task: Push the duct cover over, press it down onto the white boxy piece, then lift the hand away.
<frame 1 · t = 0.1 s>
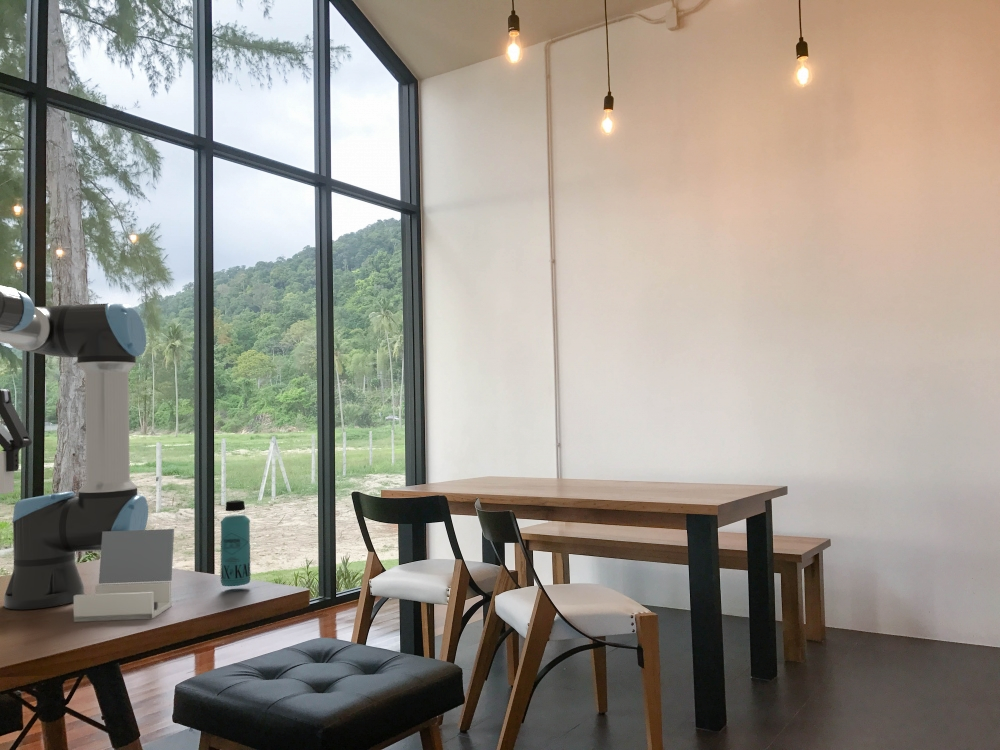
duct cover: (136, 556, 166), point 10 cm above the table, hinge at 100.0°
beverage bottle: (236, 590, 178), on the table
white boxy piece: (124, 613, 160), on the table
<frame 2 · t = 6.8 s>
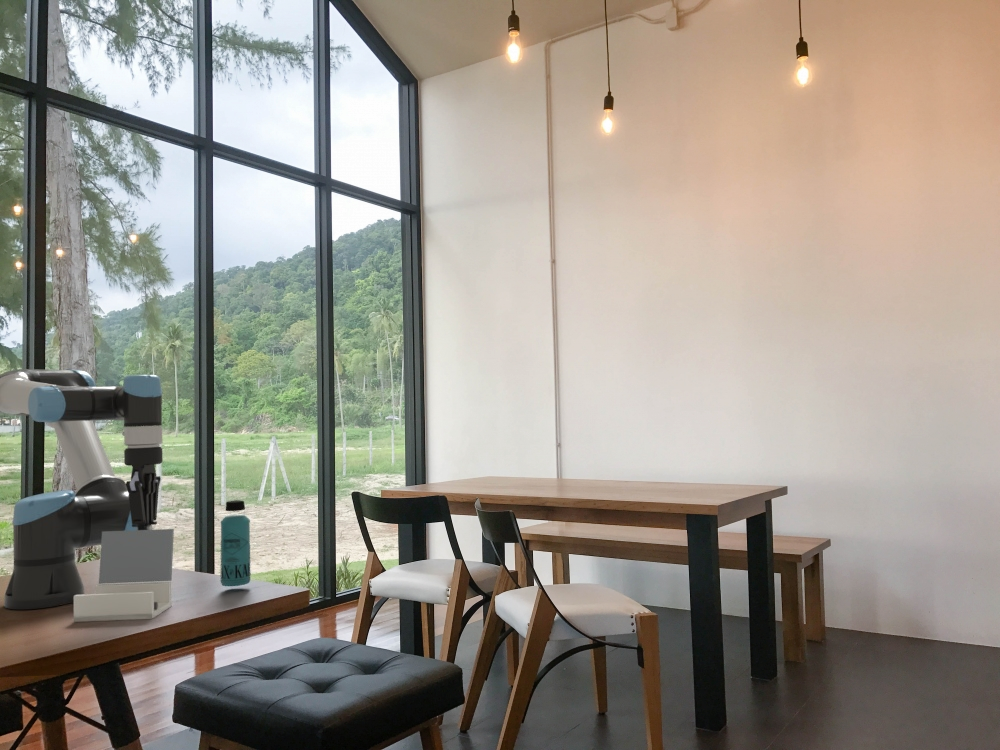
hand: (145, 556, 170), 10 cm above the table, fingers closed
duct cover: (136, 556, 166), point 10 cm above the table, hinge at 99.1°, touching gripper
everything else where it was.
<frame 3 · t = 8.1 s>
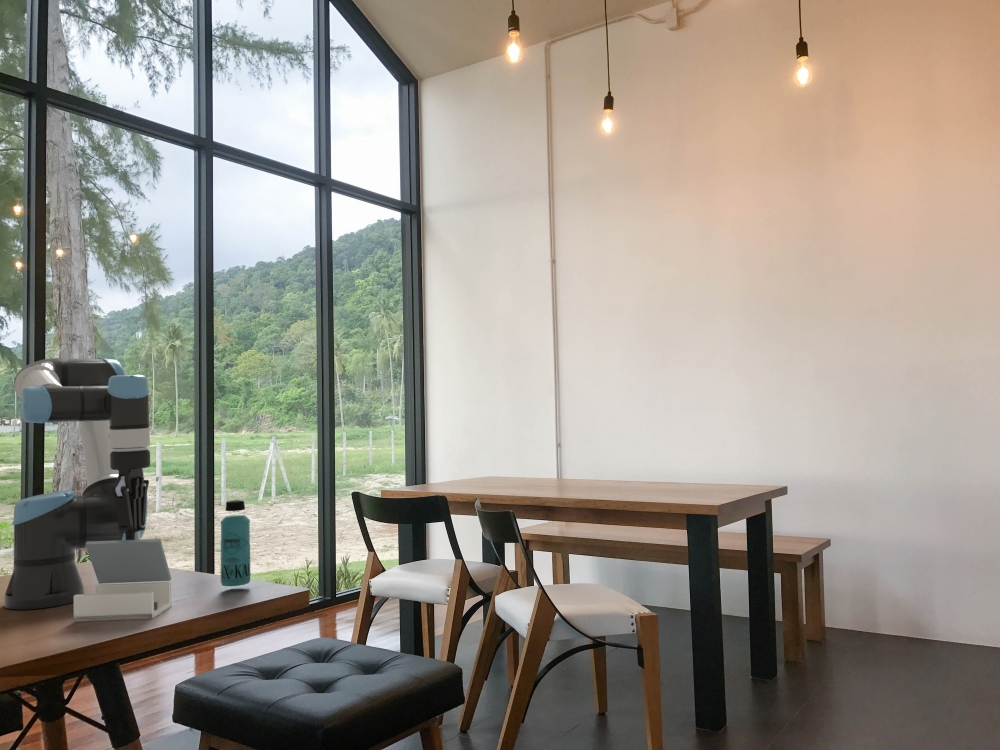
hand: (133, 563, 164), 9 cm above the table, fingers closed
duct cover: (129, 561, 162), point 10 cm above the table, hinge at 58.5°, touching gripper
everything else where it was.
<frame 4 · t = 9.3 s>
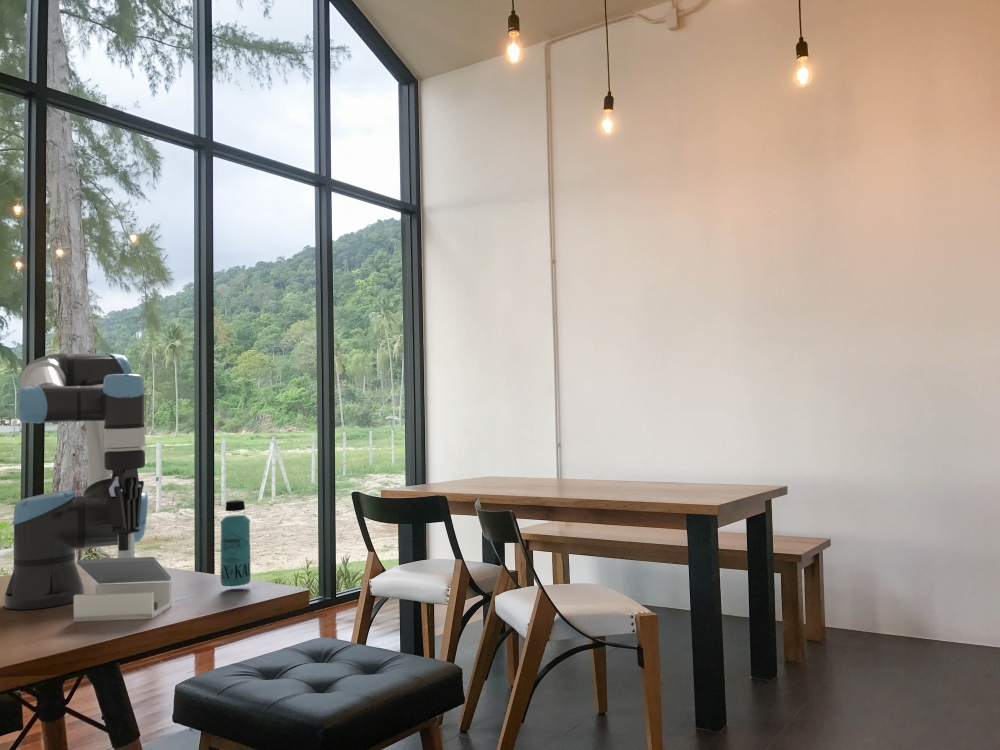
hand: (126, 565, 161), 9 cm above the table, fingers closed
duct cover: (125, 570, 161), point 8 cm above the table, hinge at 33.5°, touching gripper
everything else where it was.
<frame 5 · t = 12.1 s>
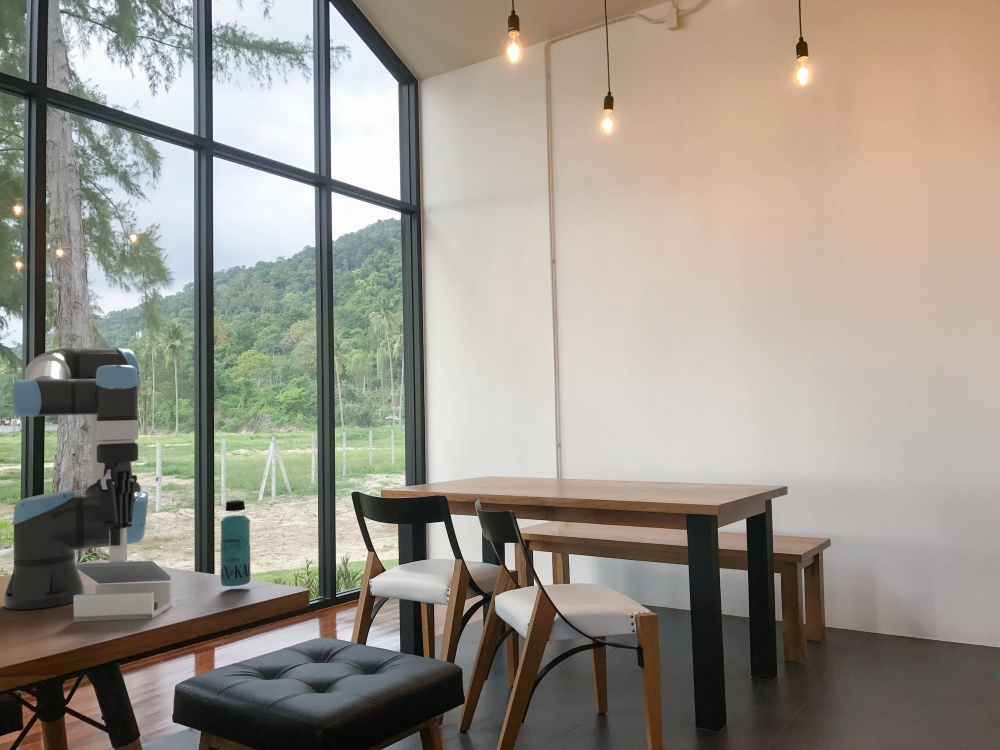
hand: (118, 561, 157), 11 cm above the table, fingers closed
duct cover: (124, 572, 160), point 8 cm above the table, hinge at 28.7°, touching gripper
everything else where it was.
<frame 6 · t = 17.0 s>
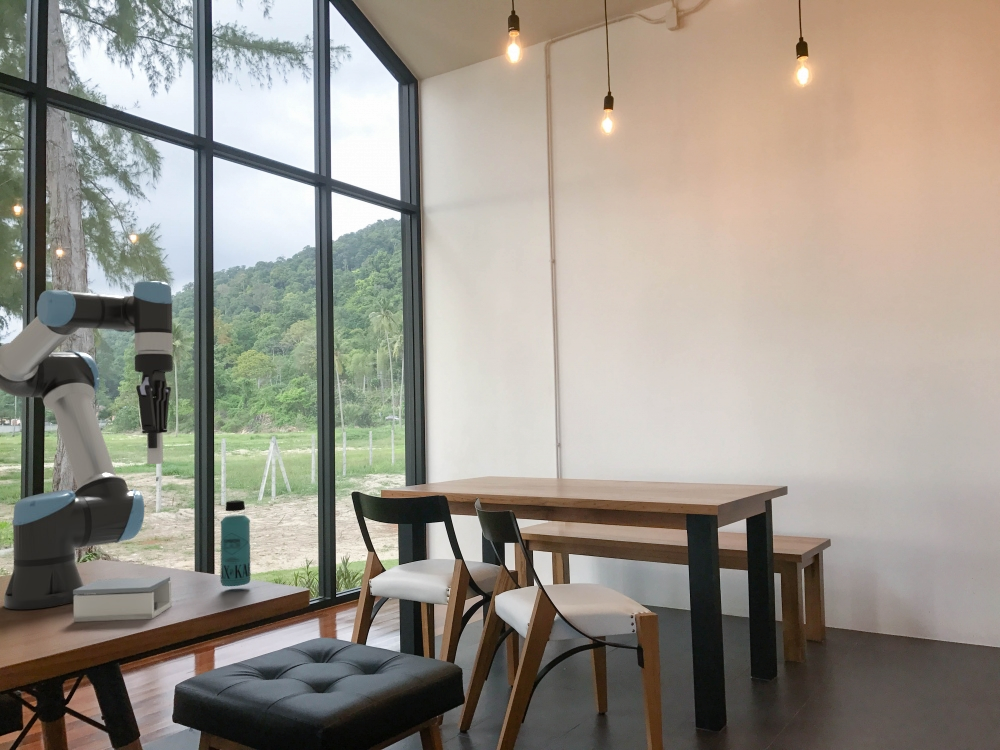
hand: (155, 463, 170), 29 cm above the table, fingers closed
duct cover: (123, 585, 159), point 6 cm above the table, hinge at 1.2°
everything else where it was.
at the end: duct cover at +1° (first picture: +100°); beverage bottle moved 0.2 cm from its start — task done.
